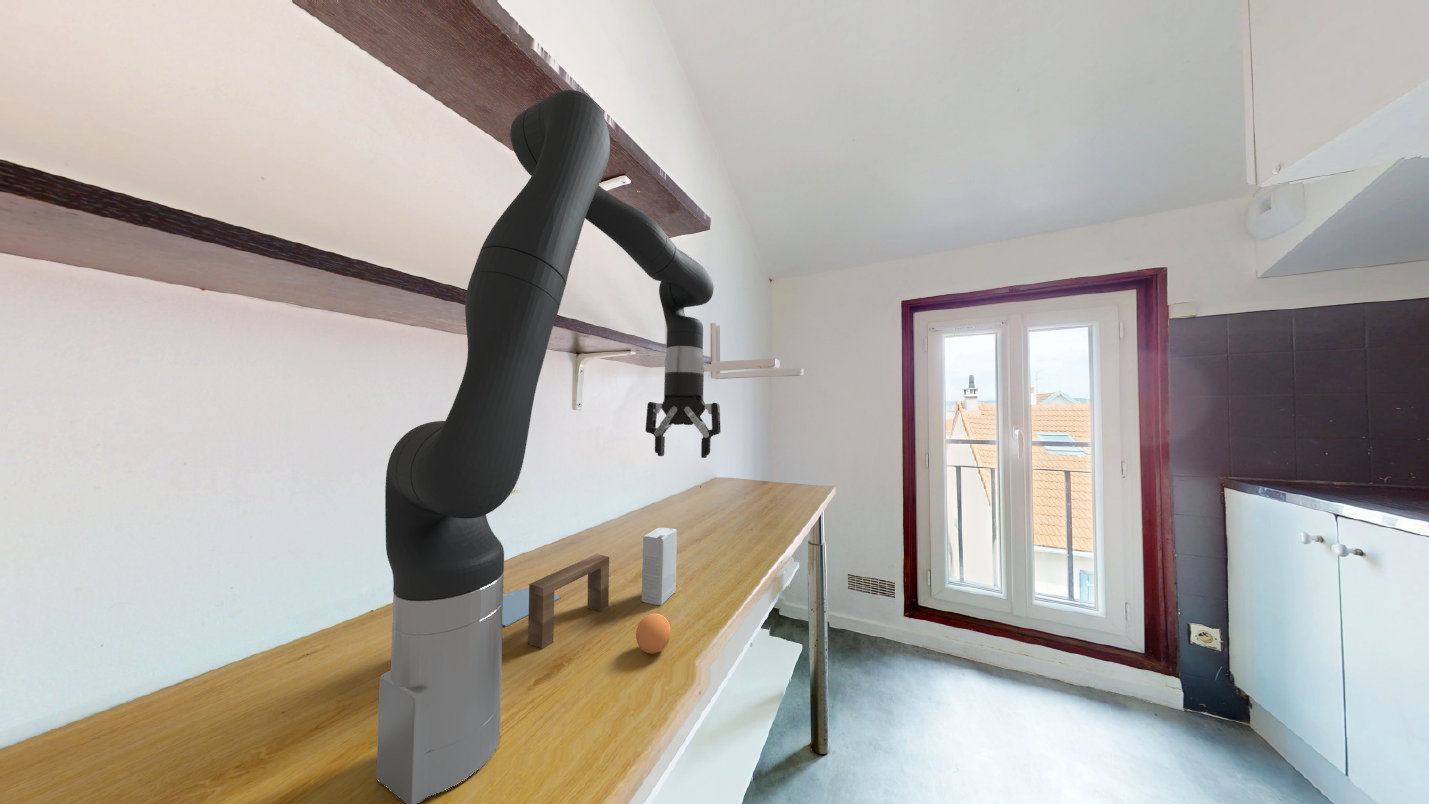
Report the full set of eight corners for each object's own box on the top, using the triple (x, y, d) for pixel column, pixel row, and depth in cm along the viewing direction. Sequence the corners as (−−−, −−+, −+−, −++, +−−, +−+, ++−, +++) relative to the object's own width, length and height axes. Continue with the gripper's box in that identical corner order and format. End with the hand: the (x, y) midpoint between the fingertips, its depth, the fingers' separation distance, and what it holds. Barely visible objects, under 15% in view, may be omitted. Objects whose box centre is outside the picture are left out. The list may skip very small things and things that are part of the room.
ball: (657, 665, 53) (658, 628, 53) (628, 655, 55) (628, 619, 55) (677, 646, 57) (677, 611, 58) (649, 637, 60) (649, 604, 60)
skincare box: (656, 588, 76) (657, 526, 77) (677, 592, 75) (678, 528, 75) (640, 603, 70) (641, 535, 71) (662, 607, 69) (663, 538, 69)
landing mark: (505, 626, 62) (506, 625, 62) (463, 610, 67) (463, 609, 67) (560, 597, 72) (560, 596, 72) (520, 585, 77) (520, 584, 77)
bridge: (608, 606, 69) (609, 556, 69) (542, 649, 56) (543, 588, 57) (595, 602, 70) (596, 553, 71) (527, 643, 58) (529, 584, 58)
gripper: (642, 370, 73) (639, 457, 72) (717, 369, 71) (715, 460, 70) (655, 374, 80) (653, 454, 80) (723, 374, 78) (722, 456, 77)
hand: (682, 456), depth 75 cm, fingers open, 8 cm apart
